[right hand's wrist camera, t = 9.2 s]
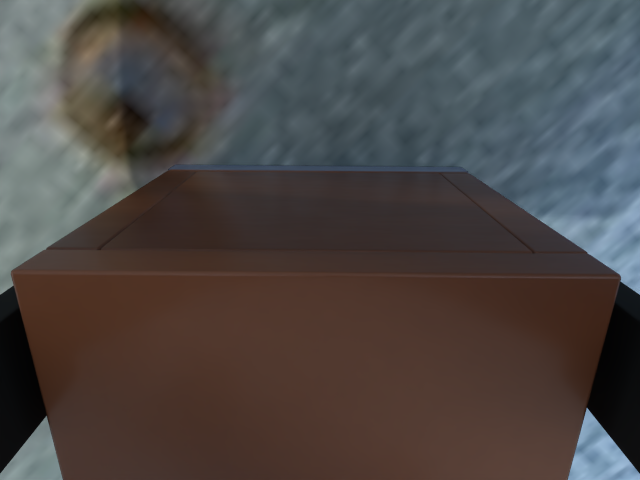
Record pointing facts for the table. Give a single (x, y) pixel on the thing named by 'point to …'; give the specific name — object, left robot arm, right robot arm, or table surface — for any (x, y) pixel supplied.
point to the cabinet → (315, 330)
